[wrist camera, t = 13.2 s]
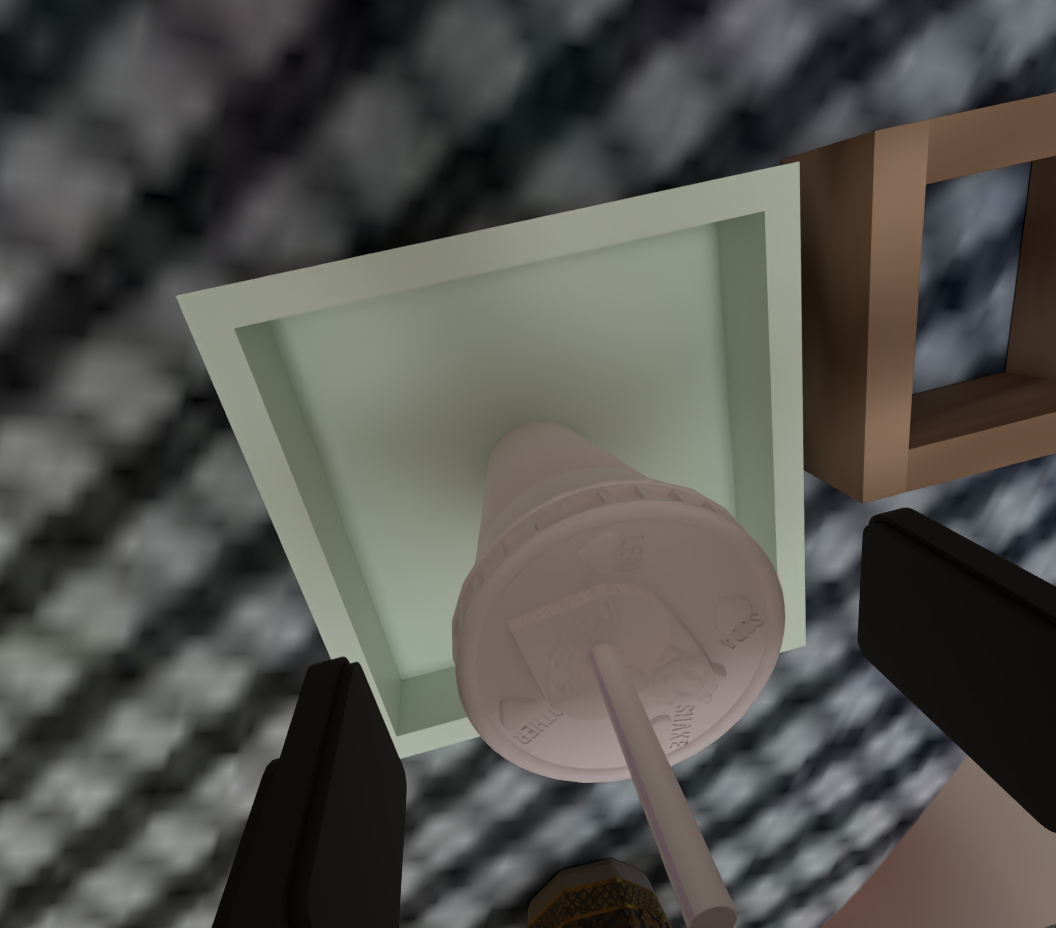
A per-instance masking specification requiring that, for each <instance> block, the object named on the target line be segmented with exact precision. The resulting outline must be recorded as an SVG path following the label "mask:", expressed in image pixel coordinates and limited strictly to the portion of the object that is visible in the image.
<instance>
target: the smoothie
mask: <svg viewBox="0 0 1056 928" xmlns="http://www.w3.org/2000/svg"><path fill="white" fill-rule="evenodd" d="M784 630H785V602H784V596H783V590H782V587H781V584H780V580H779V577H778V575H777V573H776V570H775V568H774V566H773V564H772V563H771V561H770V559H769V557H768V556H767V554H766V553H765V552H764V550H763V549H762V548H761V547H760V545H759V544H758V543H757V542H756V541H755V540H754V539H753V538H752V537H751V536H750V535H749V534H748V533H747V532H746V531H745V530H744V529H743V527H742V526H741V525H740V524H739V523H738V522H737V521H736V520H735V518H734V517H733V516H732V515H731V514H730V513H729V512H728V511H727V509H726V508H724V507H722V506H721V505H719V504H717V503H715V502H714V501H712V500H710V499H709V498H707V497H705V496H703V495H702V494H700V493H698V492H697V491H695V490H693V489H691V488H687V487H683V486H679V485H674V484H670V483H666V482H662V481H658V480H654V479H649V478H647V477H646V476H644V475H643V474H641V473H639V472H638V471H636V470H635V469H633V468H632V467H630V466H628V465H627V464H625V463H624V462H622V461H621V460H619V459H617V458H616V457H614V456H613V455H611V454H610V453H608V452H606V451H605V450H603V449H602V448H600V447H599V446H597V445H595V444H594V443H592V442H591V441H589V440H588V439H586V438H585V437H583V436H581V435H580V434H578V433H577V432H575V431H574V430H572V429H570V428H569V427H567V426H565V425H563V424H560V423H557V422H553V421H545V420H540V421H531V422H527V423H524V424H521V425H519V426H517V427H515V428H513V429H512V430H510V431H509V432H507V433H506V434H505V435H504V436H503V437H502V438H501V439H500V440H499V441H498V443H497V444H496V445H495V447H494V449H493V451H492V453H491V455H490V458H489V461H488V466H487V474H486V482H485V490H484V498H483V506H482V514H481V522H480V530H479V537H478V545H477V553H476V560H475V565H474V566H473V568H472V569H471V571H470V573H469V574H468V576H467V577H466V579H465V580H464V582H463V585H462V588H461V591H460V595H459V598H458V602H457V605H456V608H455V612H454V615H453V619H452V653H453V660H454V663H455V674H456V684H457V689H458V694H459V698H460V700H461V703H462V706H463V709H464V711H465V713H466V715H467V717H468V719H469V721H470V723H471V724H472V726H473V727H474V729H475V730H476V732H477V733H478V734H479V735H480V736H481V738H482V739H483V740H484V741H485V742H486V743H487V744H488V745H489V746H490V747H491V748H492V749H493V750H494V751H496V752H497V753H498V754H500V755H501V756H502V757H504V758H505V759H507V760H509V761H510V762H512V763H514V764H515V765H517V766H519V767H522V768H524V769H526V770H528V771H530V772H534V773H536V774H539V775H542V776H546V777H550V778H553V779H557V780H566V781H574V782H582V783H591V782H614V781H619V780H625V779H630V778H632V780H633V782H634V785H635V788H636V790H637V793H638V796H639V799H640V801H641V804H642V807H643V809H644V812H645V815H646V818H647V820H648V823H649V826H650V828H651V831H652V834H653V837H654V839H655V842H656V845H657V847H658V850H659V853H660V856H661V858H662V861H663V864H664V866H665V869H666V872H667V875H668V877H669V880H670V883H671V885H672V888H673V891H674V894H675V896H676V899H677V902H678V904H679V907H680V910H681V913H682V915H683V918H684V921H685V923H686V926H687V928H733V927H734V925H735V924H736V922H737V919H738V914H737V911H736V909H735V907H734V905H733V903H732V900H731V898H730V896H729V894H728V892H727V889H726V887H725V885H724V883H723V881H722V878H721V876H720V874H719V872H718V870H717V867H716V865H715V863H714V861H713V859H712V856H711V854H710V852H709V850H708V848H707V845H706V843H705V841H704V839H703V837H702V834H701V832H700V830H699V828H698V826H697V823H696V821H695V819H694V817H693V815H692V812H691V810H690V808H689V806H688V804H687V801H686V799H685V797H684V795H683V793H682V790H681V788H680V786H679V784H678V782H677V779H676V777H675V775H674V773H673V771H672V768H671V766H673V765H675V764H677V763H679V762H681V761H683V760H685V759H687V758H689V757H691V756H693V755H695V754H696V753H698V752H699V751H701V750H702V749H704V748H705V747H707V746H708V745H710V744H711V743H713V742H714V741H715V740H717V739H718V738H720V737H721V736H722V735H723V734H724V733H725V732H726V731H728V730H729V729H730V728H731V727H732V726H733V725H734V724H735V723H736V722H737V721H738V720H740V719H741V718H742V716H743V715H744V714H745V713H746V711H747V710H748V709H749V708H750V706H751V705H752V704H753V703H754V701H755V700H756V699H757V698H758V696H759V695H760V693H761V692H762V690H763V688H764V686H765V685H766V683H767V681H768V679H769V677H770V676H771V674H772V672H773V670H774V667H775V664H776V662H777V659H778V657H779V653H780V649H781V646H782V642H783V636H784Z"/></svg>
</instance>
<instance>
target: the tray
mask: <svg viewBox="0 0 1056 928" xmlns="http://www.w3.org/2000/svg"><path fill="white" fill-rule="evenodd" d="M176 298H177V301H178V303H179V305H180V308H181V310H182V312H183V315H184V317H185V319H186V322H187V324H188V326H189V329H190V331H191V333H192V336H193V338H194V340H195V343H196V345H197V347H198V350H199V352H200V354H201V357H202V359H203V361H204V364H205V366H206V368H207V371H208V373H209V375H210V378H211V380H212V382H213V385H214V387H215V389H216V392H217V394H218V396H219V399H220V401H221V403H222V406H223V408H224V410H225V413H226V415H227V417H228V420H229V422H230V424H231V427H232V429H233V431H234V434H235V436H236V438H237V441H238V443H239V445H240V448H241V450H242V452H243V455H244V457H245V459H246V462H247V464H248V466H249V469H250V471H251V473H252V476H253V478H254V480H255V483H256V485H257V487H258V490H259V492H260V494H261V497H262V499H263V501H264V504H265V506H266V508H267V511H268V513H269V515H270V518H271V520H272V522H273V525H274V527H275V529H276V532H277V534H278V536H279V539H280V541H281V543H282V546H283V548H284V550H285V553H286V555H287V557H288V560H289V562H290V564H291V567H292V569H293V571H294V574H295V576H296V578H297V581H298V583H299V585H300V588H301V590H302V592H303V595H304V597H305V599H306V602H307V604H308V606H309V609H310V611H311V613H312V616H313V618H314V620H315V623H316V625H317V627H318V630H319V632H320V634H321V637H322V639H323V641H324V644H325V646H326V648H327V651H328V653H329V655H330V658H331V659H335V658H339V657H342V656H343V657H346V658H347V659H348V660H349V662H350V663H354V662H359V663H360V665H361V667H362V669H363V671H364V674H365V676H366V678H367V681H368V683H369V686H370V688H371V690H372V693H373V695H374V698H375V700H376V702H377V705H378V707H379V710H380V712H381V714H382V717H383V719H384V722H385V724H386V726H387V729H388V731H389V734H390V736H391V739H392V741H393V743H394V746H395V748H396V751H397V753H398V755H399V758H400V759H401V758H405V757H408V756H412V755H415V754H419V753H422V752H426V751H430V750H433V749H437V748H440V747H444V746H448V745H451V744H455V743H458V742H462V741H465V740H469V739H473V738H476V737H480V735H479V734H478V733H477V732H476V730H475V729H474V727H473V726H472V724H471V723H470V721H469V719H468V717H467V715H466V713H465V711H464V709H463V706H462V703H461V700H460V698H459V694H458V689H457V684H456V674H455V663H454V660H453V653H452V619H453V615H454V612H455V608H456V605H457V602H458V598H459V595H460V591H461V588H462V585H463V582H464V580H465V579H466V577H467V576H468V574H469V573H470V571H471V569H472V568H473V566H474V565H475V560H476V553H477V545H478V537H479V530H480V522H481V514H482V506H483V498H484V490H485V482H486V474H487V466H488V461H489V458H490V455H491V453H492V451H493V449H494V447H495V445H496V444H497V443H498V441H499V440H500V439H501V438H502V437H503V436H504V435H505V434H506V433H507V432H509V431H510V430H512V429H513V428H515V427H517V426H519V425H521V424H524V423H527V422H531V421H540V420H545V421H553V422H557V423H560V424H563V425H565V426H567V427H569V428H570V429H572V430H574V431H575V432H577V433H578V434H580V435H581V436H583V437H585V438H586V439H588V440H589V441H591V442H592V443H594V444H595V445H597V446H599V447H600V448H602V449H603V450H605V451H606V452H608V453H610V454H611V455H613V456H614V457H616V458H617V459H619V460H621V461H622V462H624V463H625V464H627V465H628V466H630V467H632V468H633V469H635V470H636V471H638V472H639V473H641V474H643V475H644V476H646V477H647V478H649V479H654V480H658V481H662V482H666V483H670V484H674V485H679V486H683V487H687V488H691V489H693V490H695V491H697V492H698V493H700V494H702V495H703V496H705V497H707V498H709V499H710V500H712V501H714V502H715V503H717V504H719V505H721V506H722V507H724V508H726V509H727V511H728V512H729V513H730V514H731V515H732V516H733V517H734V518H735V520H736V521H737V522H738V523H739V524H740V525H741V526H742V527H743V529H744V530H745V531H746V532H747V533H748V534H749V535H750V536H751V537H752V538H753V539H754V540H755V541H756V542H757V543H758V544H759V545H760V547H761V548H762V549H763V550H764V552H765V553H766V554H767V556H768V557H769V559H770V561H771V563H772V564H773V566H774V568H775V570H776V573H777V575H778V577H779V580H780V584H781V587H782V590H783V596H784V602H785V630H784V636H783V642H782V646H781V649H780V653H781V652H785V651H788V650H792V649H795V648H799V647H803V646H806V634H805V555H804V475H803V396H802V317H801V237H800V161H799V162H795V163H790V164H785V165H781V166H776V167H771V168H767V169H762V170H757V171H753V172H748V173H743V174H739V175H734V176H730V177H725V178H720V179H716V180H711V181H706V182H702V183H697V184H692V185H688V186H683V187H678V188H674V189H669V190H665V191H660V192H655V193H651V194H646V195H641V196H637V197H632V198H627V199H623V200H618V201H613V202H609V203H604V204H600V205H595V206H590V207H586V208H581V209H576V210H572V211H567V212H562V213H558V214H553V215H548V216H544V217H539V218H535V219H530V220H525V221H521V222H516V223H511V224H507V225H502V226H497V227H493V228H488V229H483V230H479V231H474V232H470V233H465V234H460V235H456V236H451V237H446V238H442V239H437V240H432V241H428V242H423V243H418V244H414V245H409V246H405V247H400V248H395V249H391V250H386V251H381V252H377V253H372V254H367V255H363V256H358V257H353V258H349V259H344V260H340V261H335V262H330V263H326V264H321V265H316V266H312V267H307V268H302V269H298V270H293V271H288V272H284V273H279V274H275V275H270V276H265V277H261V278H256V279H251V280H247V281H242V282H237V283H233V284H228V285H223V286H219V287H214V288H210V289H205V290H200V291H196V292H191V293H186V294H182V295H177V296H176Z"/></svg>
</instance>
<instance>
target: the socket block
mask: <svg viewBox="0 0 1056 928" xmlns="http://www.w3.org/2000/svg"><path fill="white" fill-rule="evenodd" d="M799 161H800V237H801V317H802V396H803V470H805V471H807V472H808V473H810V474H812V475H814V476H815V477H817V478H819V479H821V480H822V481H824V482H826V483H828V484H829V485H831V486H833V487H835V488H836V489H838V490H840V491H842V492H843V493H845V494H847V495H849V496H851V497H852V498H854V499H856V500H858V501H859V502H861V503H866V502H870V501H874V500H878V499H882V498H886V497H889V496H893V495H897V494H901V493H905V492H908V491H912V490H916V489H920V488H924V487H927V486H931V485H935V484H939V483H943V482H947V481H950V480H954V479H958V478H962V477H966V476H969V475H973V474H977V473H981V472H985V471H988V470H992V469H996V468H1000V467H1004V466H1008V465H1011V464H1015V463H1019V462H1023V461H1027V460H1030V459H1034V458H1038V457H1042V456H1046V455H1049V454H1053V453H1056V92H1055V93H1050V94H1046V95H1041V96H1036V97H1032V98H1027V99H1022V100H1017V101H1013V102H1008V103H1003V104H999V105H994V106H989V107H985V108H980V109H975V110H971V111H966V112H961V113H957V114H952V115H947V116H943V117H938V118H933V119H928V120H924V121H919V122H914V123H910V124H905V125H900V126H896V127H891V128H886V129H882V130H877V131H873V132H870V133H867V134H863V135H860V136H857V137H854V138H850V139H847V140H844V141H841V142H837V143H834V144H831V145H828V146H824V147H821V148H818V149H815V150H811V151H808V152H805V153H802V154H798V155H795V156H792V157H789V158H785V159H782V165H785V164H790V163H795V162H799ZM1029 161H1033V163H1032V170H1031V178H1030V186H1029V193H1028V201H1027V209H1026V217H1025V224H1024V232H1023V240H1022V247H1021V255H1020V263H1019V271H1018V278H1017V286H1016V294H1015V301H1014V309H1013V317H1012V325H1011V332H1010V340H1009V348H1008V355H1007V363H1006V371H1005V372H1001V373H997V374H993V375H989V376H985V377H981V378H977V379H973V380H969V381H965V382H961V383H957V384H953V385H949V386H945V387H941V388H937V389H933V390H929V391H925V392H921V393H917V394H913V395H912V387H913V372H914V357H915V341H916V326H917V311H918V295H919V280H920V265H921V249H922V234H923V219H924V203H925V188H926V184H930V183H934V182H939V181H943V180H948V179H952V178H957V177H961V176H966V175H970V174H975V173H979V172H984V171H988V170H993V169H997V168H1002V167H1006V166H1011V165H1015V164H1020V163H1024V162H1029Z"/></svg>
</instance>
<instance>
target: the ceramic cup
mask: <svg viewBox="0 0 1056 928" xmlns="http://www.w3.org/2000/svg"><path fill="white" fill-rule="evenodd" d="M528 928H672V927H671V925H670V923H669V921H668V919H667V917H666V915H665V913H664V911H663V909H662V907H661V905H660V903H659V901H658V898H657V897H656V895H655V893H654V891H653V888H652V886H651V884H650V882H649V880H648V878H647V877H646V876H645V875H644V873H643V872H642V871H640V870H638V869H635V868H633V867H630V866H628V865H626V864H623V863H621V862H619V861H616V860H614V859H606V860H602V861H598V862H594V863H589V864H585V865H581V866H577V867H573V868H569V869H565V870H562V871H560V872H559V873H558V874H557V875H556V876H555V877H554V878H553V879H552V880H551V881H550V882H549V883H548V884H547V885H546V886H545V887H544V888H543V889H542V890H541V891H540V892H539V893H538V894H537V895H536V896H535V897H534V898H533V899H532V900H531V901H530V905H529V907H528Z"/></svg>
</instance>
